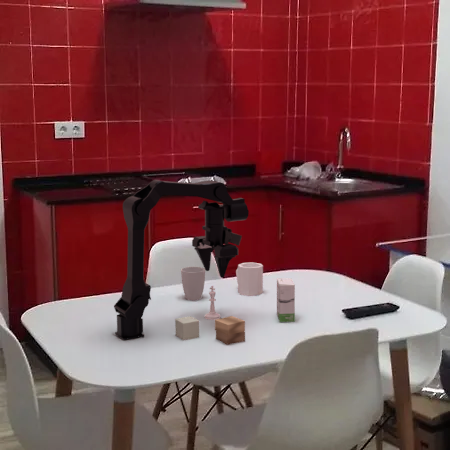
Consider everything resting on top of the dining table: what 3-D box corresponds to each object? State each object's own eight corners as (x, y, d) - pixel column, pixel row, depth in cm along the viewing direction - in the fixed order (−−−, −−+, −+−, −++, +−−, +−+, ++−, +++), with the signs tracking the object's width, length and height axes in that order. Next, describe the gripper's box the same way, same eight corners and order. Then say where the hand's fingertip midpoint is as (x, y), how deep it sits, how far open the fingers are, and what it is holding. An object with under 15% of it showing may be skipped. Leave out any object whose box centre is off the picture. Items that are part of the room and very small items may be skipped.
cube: (183, 340, 214) (183, 323, 213) (175, 335, 218) (175, 318, 217) (199, 337, 216) (199, 320, 216) (190, 332, 221) (190, 316, 220)
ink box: (295, 322, 230) (295, 284, 228) (278, 322, 230) (279, 284, 228) (291, 313, 238) (292, 277, 236) (275, 314, 238) (276, 277, 236)
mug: (267, 293, 262) (267, 265, 260) (247, 297, 257) (247, 269, 255) (246, 286, 272) (247, 259, 270) (227, 289, 267) (227, 262, 265)
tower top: (228, 335, 210) (228, 324, 209) (214, 330, 214) (214, 319, 214) (244, 331, 213) (244, 320, 213) (231, 326, 218) (231, 316, 217)
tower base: (226, 345, 210) (226, 335, 210) (215, 339, 215) (215, 329, 215) (245, 342, 213) (245, 331, 213) (234, 336, 218) (234, 326, 218)
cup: (210, 297, 257) (210, 268, 256) (196, 303, 251) (196, 273, 249) (190, 293, 262) (190, 265, 260) (176, 299, 255) (176, 270, 253)
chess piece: (211, 314, 238) (211, 283, 237) (223, 317, 235) (223, 285, 233) (201, 317, 235) (201, 286, 233) (213, 320, 232) (213, 289, 230)
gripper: (254, 225, 222) (253, 277, 225) (222, 216, 238) (222, 264, 241) (220, 229, 217) (220, 282, 220) (191, 219, 233) (191, 268, 236)
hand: (214, 274), depth 229 cm, fingers open, 9 cm apart
